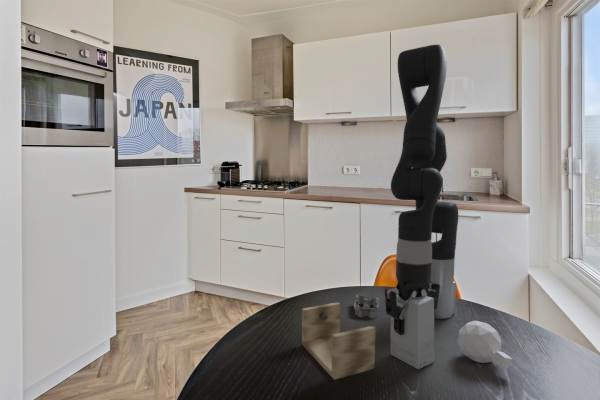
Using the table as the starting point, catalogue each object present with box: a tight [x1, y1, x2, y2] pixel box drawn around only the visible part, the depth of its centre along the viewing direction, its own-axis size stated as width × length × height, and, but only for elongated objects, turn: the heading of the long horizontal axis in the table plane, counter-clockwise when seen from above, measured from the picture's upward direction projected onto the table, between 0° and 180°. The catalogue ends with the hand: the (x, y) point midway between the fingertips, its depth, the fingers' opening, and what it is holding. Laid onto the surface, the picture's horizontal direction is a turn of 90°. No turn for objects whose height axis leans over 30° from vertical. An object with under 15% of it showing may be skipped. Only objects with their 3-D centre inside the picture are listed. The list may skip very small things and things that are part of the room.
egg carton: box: [353, 292, 380, 319], centre depth 111 cm, size 10×7×4 cm
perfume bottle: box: [457, 320, 513, 369], centre depth 82 cm, size 9×9×12 cm
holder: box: [301, 302, 376, 381], centre depth 85 cm, size 10×16×9 cm, turn 24°
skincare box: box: [389, 295, 435, 370], centre depth 83 cm, size 8×6×15 cm
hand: (411, 330), depth 83 cm, fingers closed on skincare box, 6 cm apart
